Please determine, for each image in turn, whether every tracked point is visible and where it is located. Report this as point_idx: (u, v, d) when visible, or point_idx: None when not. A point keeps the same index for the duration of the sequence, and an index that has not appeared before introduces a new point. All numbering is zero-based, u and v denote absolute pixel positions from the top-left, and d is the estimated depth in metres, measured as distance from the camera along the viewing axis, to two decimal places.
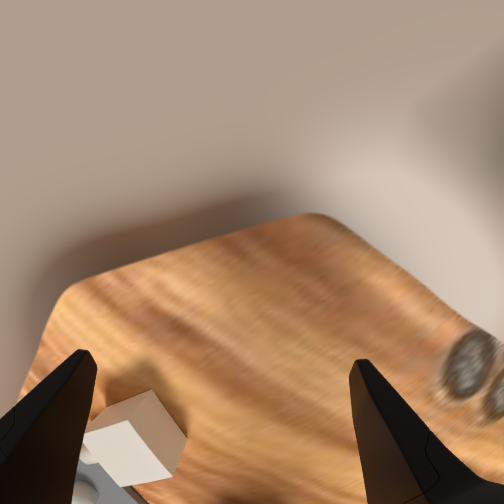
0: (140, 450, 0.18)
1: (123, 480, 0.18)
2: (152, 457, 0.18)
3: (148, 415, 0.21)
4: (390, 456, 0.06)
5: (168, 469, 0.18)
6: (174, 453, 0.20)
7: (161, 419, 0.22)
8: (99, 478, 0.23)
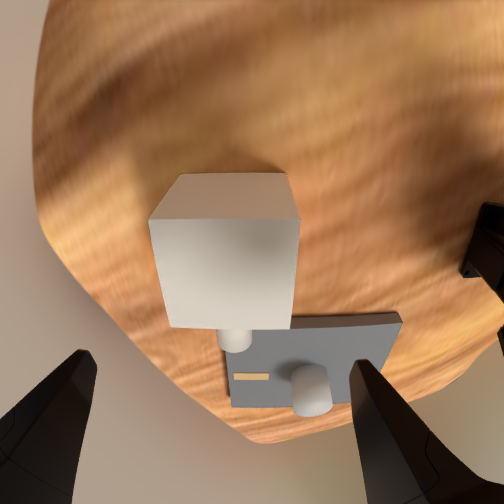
0: (216, 237, 0.12)
1: (276, 313, 0.14)
2: (238, 224, 0.12)
3: (190, 193, 0.14)
4: (390, 456, 0.06)
5: (281, 217, 0.12)
6: (276, 195, 0.14)
7: (219, 182, 0.15)
8: (296, 348, 0.22)
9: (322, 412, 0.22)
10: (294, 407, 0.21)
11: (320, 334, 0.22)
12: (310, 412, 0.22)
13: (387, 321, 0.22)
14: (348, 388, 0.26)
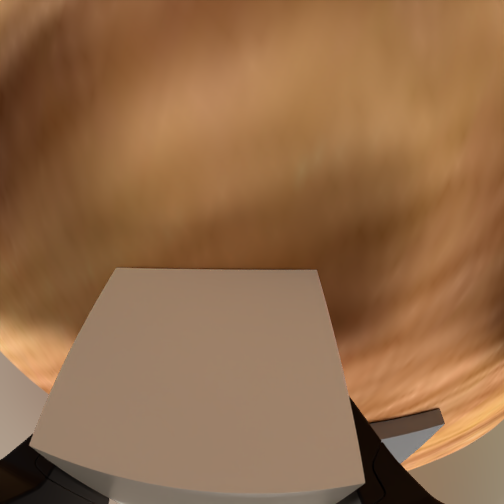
0: (171, 496, 0.04)
1: None
2: (217, 494, 0.04)
3: (115, 352, 0.06)
4: None
5: (321, 483, 0.04)
6: (305, 372, 0.06)
7: (181, 310, 0.07)
8: None
9: None
10: None
11: None
12: None
13: (426, 424, 0.14)
14: None
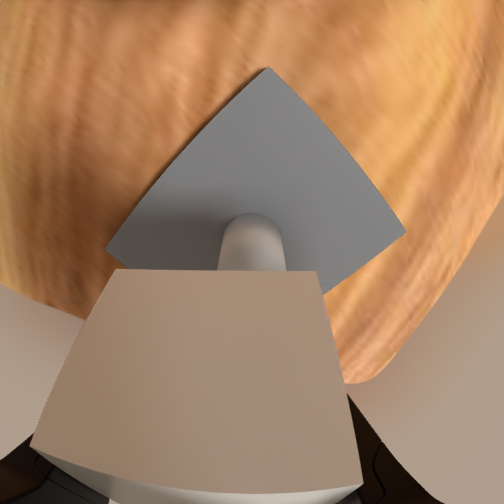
0: (170, 496, 0.04)
1: None
2: (216, 495, 0.04)
3: (115, 353, 0.06)
4: None
5: (319, 483, 0.04)
6: (304, 373, 0.06)
7: (180, 311, 0.07)
8: (182, 212, 0.16)
9: None
10: None
11: (181, 172, 0.15)
12: None
13: (248, 84, 0.13)
14: (346, 224, 0.16)
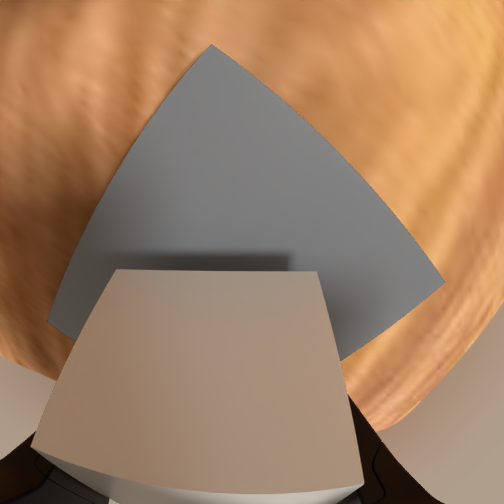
0: (172, 496, 0.04)
1: None
2: (217, 495, 0.04)
3: (116, 353, 0.06)
4: None
5: (321, 484, 0.04)
6: (305, 373, 0.06)
7: (181, 312, 0.07)
8: None
9: None
10: None
11: (105, 230, 0.09)
12: None
13: None
14: (360, 285, 0.11)
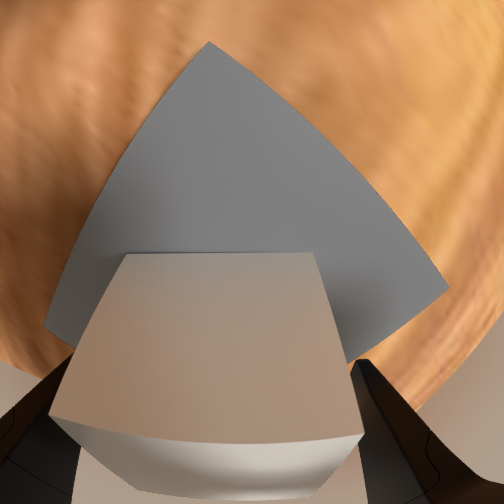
0: (185, 456, 0.05)
1: (293, 493, 0.07)
2: (229, 448, 0.04)
3: (130, 325, 0.07)
4: (391, 456, 0.06)
5: (325, 433, 0.04)
6: (305, 337, 0.06)
7: (190, 288, 0.08)
8: None
9: None
10: None
11: (100, 235, 0.09)
12: None
13: None
14: (363, 291, 0.10)
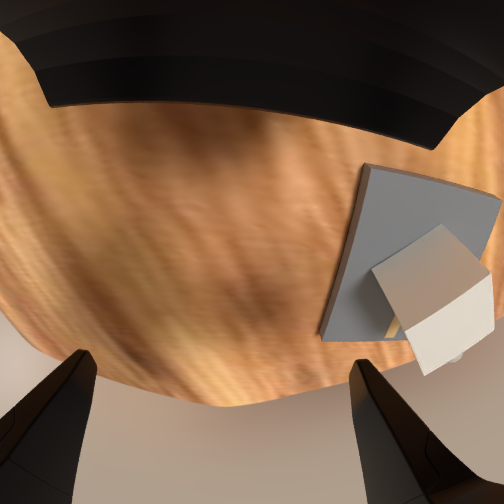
0: (449, 313, 0.14)
1: (486, 327, 0.15)
2: (460, 299, 0.13)
3: (404, 288, 0.16)
4: (390, 456, 0.06)
5: (481, 278, 0.13)
6: (459, 256, 0.15)
7: (411, 264, 0.17)
8: (368, 289, 0.20)
9: None
10: None
11: (355, 268, 0.19)
12: None
13: (365, 188, 0.17)
14: (467, 226, 0.18)
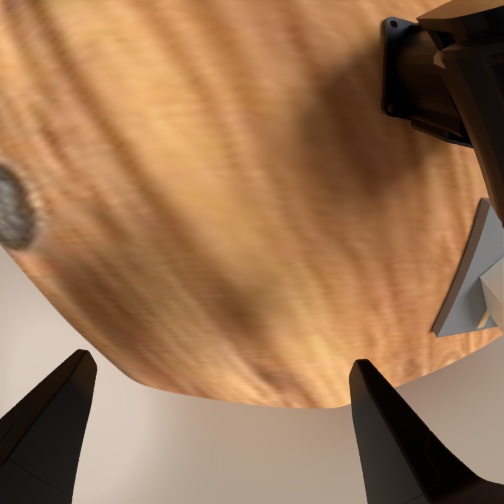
0: None
1: None
2: None
3: None
4: (390, 456, 0.06)
5: None
6: None
7: None
8: (474, 292, 0.21)
9: None
10: None
11: (470, 277, 0.21)
12: None
13: (484, 218, 0.18)
14: None
